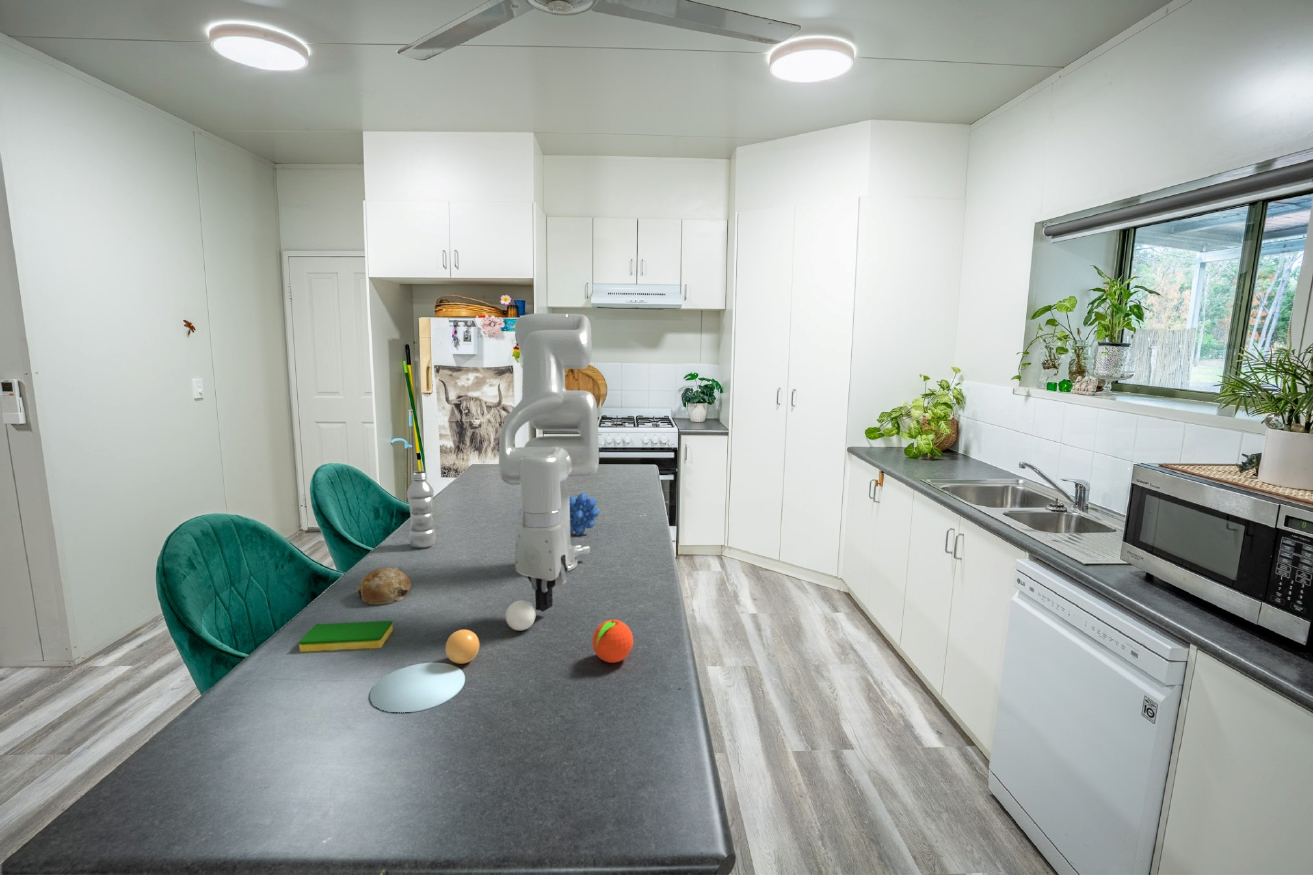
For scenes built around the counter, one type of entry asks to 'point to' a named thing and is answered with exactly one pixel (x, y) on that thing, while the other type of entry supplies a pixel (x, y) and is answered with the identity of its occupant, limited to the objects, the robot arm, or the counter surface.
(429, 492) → the plastic bottle
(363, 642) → the dish sponge
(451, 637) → the orange ball
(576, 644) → the counter surface
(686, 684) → the counter surface
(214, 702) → the counter surface
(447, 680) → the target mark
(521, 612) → the cue ball
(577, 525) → the grapes
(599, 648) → the clementine
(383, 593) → the bread roll
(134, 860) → the counter surface
